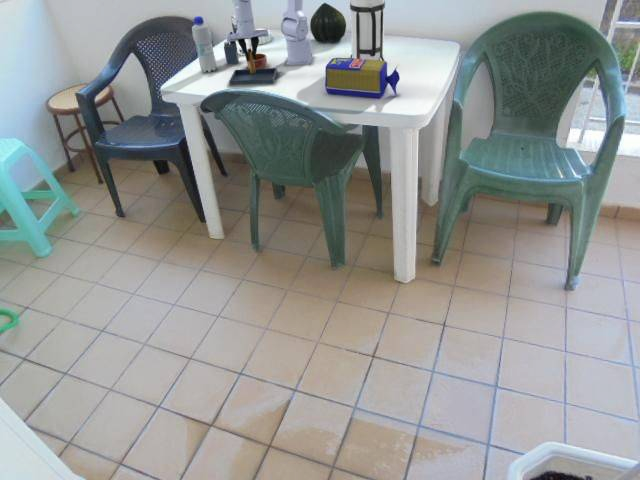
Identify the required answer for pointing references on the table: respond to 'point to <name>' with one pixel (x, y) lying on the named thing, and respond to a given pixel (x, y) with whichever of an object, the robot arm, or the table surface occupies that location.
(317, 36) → the squash
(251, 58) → the marker
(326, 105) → the table surface
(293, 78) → the table surface
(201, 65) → the bottle
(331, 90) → the bread
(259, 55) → the pen cup
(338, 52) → the table surface
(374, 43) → the coffee press
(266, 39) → the mooncake
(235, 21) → the beer glass
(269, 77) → the tray
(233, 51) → the vaping device
